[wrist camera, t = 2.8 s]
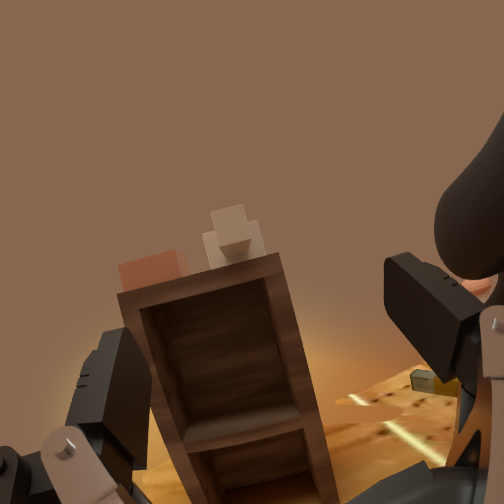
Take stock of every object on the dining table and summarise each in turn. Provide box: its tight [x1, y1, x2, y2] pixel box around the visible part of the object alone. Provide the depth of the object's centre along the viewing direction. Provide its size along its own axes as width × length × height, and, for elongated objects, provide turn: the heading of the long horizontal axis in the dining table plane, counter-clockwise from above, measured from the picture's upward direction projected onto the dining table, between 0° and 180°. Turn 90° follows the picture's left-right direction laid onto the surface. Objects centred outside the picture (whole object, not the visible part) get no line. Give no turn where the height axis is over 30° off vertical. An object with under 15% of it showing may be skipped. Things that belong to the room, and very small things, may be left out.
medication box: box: [410, 369, 460, 397], centre depth 50 cm, size 12×3×4 cm, turn 23°
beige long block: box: [202, 204, 266, 270], centre depth 33 cm, size 20×6×4 cm, turn 3°
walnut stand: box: [117, 253, 340, 504], centre depth 36 cm, size 12×17×32 cm
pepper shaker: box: [462, 277, 491, 303], centre depth 52 cm, size 7×7×19 cm
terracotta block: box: [118, 250, 191, 292], centre depth 36 cm, size 7×6×3 cm
